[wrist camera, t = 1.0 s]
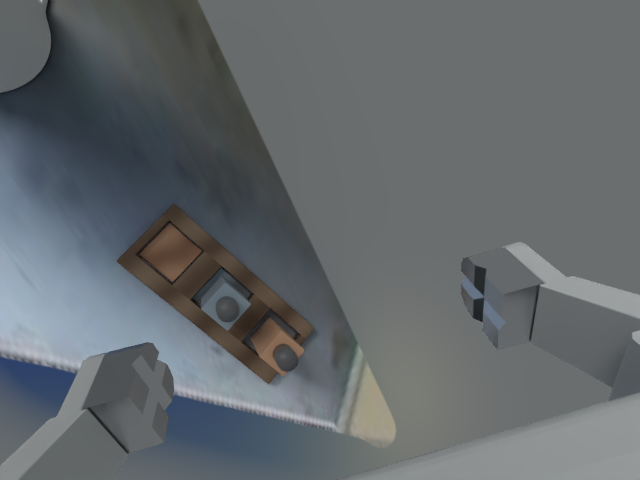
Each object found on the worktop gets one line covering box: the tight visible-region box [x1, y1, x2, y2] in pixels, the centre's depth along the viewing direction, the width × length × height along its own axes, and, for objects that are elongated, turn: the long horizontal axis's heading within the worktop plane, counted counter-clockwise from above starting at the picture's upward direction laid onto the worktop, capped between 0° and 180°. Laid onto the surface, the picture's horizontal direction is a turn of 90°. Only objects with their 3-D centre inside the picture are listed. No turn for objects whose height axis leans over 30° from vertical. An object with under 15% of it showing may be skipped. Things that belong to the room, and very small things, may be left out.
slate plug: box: [201, 276, 251, 331], centre depth 46 cm, size 4×4×12 cm
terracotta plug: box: [250, 317, 305, 377], centre depth 48 cm, size 4×4×12 cm
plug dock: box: [117, 204, 315, 384], centre depth 51 cm, size 26×10×2 cm, turn 47°
